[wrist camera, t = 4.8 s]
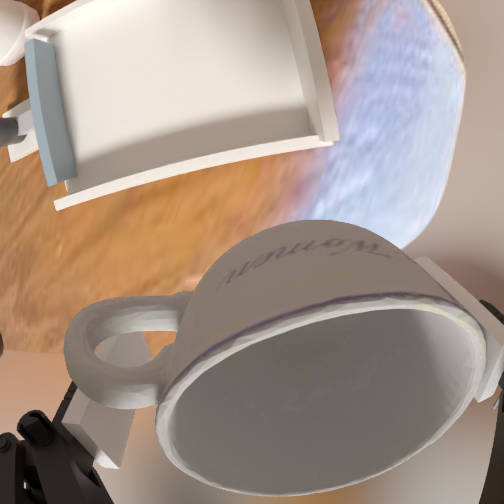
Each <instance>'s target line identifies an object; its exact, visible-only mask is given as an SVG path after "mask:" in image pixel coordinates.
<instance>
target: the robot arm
mask: <svg viewBox="0 0 504 504" xmlns="http://www.w3.org/2000/svg"><path fill="white" fill-rule="evenodd" d="M413 261H414V262H415V263H416V264H417V265H418V266H419V267H421V268H422V269H423V270H424V271H425V272H426V273H427V274H428V275H429V276H430V277H431V278H432V279H433V280H434V281H435V282H436V283H437V284H438V285H439V286H440V287H441V288H442V289H443V291H444V292H445V293H446V294H447V295H448V296H449V297H450V298H451V300H452V301H454V302H456V303H457V304H459V305H461V306H462V307H463V308H465V309H466V310H467V311H468V312H469V313H470V314H471V315H472V316H473V317H474V318H475V320H476V321H477V322H478V324H479V325H480V326H481V328H482V331H483V334H484V337H485V340H486V345H487V360H486V368H485V371H484V375H483V378H482V380H481V382H480V385H479V387H478V389H477V392H476V394H475V396H474V397H475V399H476V400H477V402H478V403H479V402H481V401H483V400H484V399H487V398H488V397H490V396H492V395H493V393H494V392H495V390H496V387H497V385H498V384H499V386H500V387H501V388H502V391H501V393H500V395H499V397H498V399H497V401H496V403H495V404H494V407H493V409H496V407H497V405H498V404H499V407H498V415H497V423H496V430H495V436H494V442H493V448H492V453H491V458H490V463H489V467H488V472H487V476H486V480H485V483H484V488H483V491H482V494H481V498H480V501H479V504H504V315H503V314H502V313H500V312H499V311H498V310H497V309H496V308H495V307H494V306H493V305H491V304H490V303H488V302H486V301H484V300H480V301H478V300H476V299H475V298H474V297H473V296H472V295H471V294H470V293H469V292H468V291H466V290H465V289H464V288H463V287H462V286H461V285H459V284H458V283H457V282H456V281H455V280H454V279H453V278H452V277H450V276H449V275H448V274H447V273H446V272H444V271H443V270H442V269H441V268H439V266H437V265H436V264H435V263H434V262H432V261H431V260H430V259H429V258H428V257H426V256H425V257H420V258H416V259H413ZM2 354H3V343H2V339H1V335H0V357H1V356H2ZM95 355H96V356H97V357H98V358H99V359H101V360H102V361H104V362H106V363H107V364H110V365H114V366H118V367H122V368H132V367H138V366H141V365H144V364H146V363H148V362H150V361H151V358H152V353H151V351H150V349H149V347H148V345H147V342H146V340H145V338H144V336H143V333H142V331H138V332H130V333H124V334H120V335H116V336H112V337H109V338H107V339H105V340H103V341H101V343H100V345H99V347H98V349H97V350H96V352H95ZM67 391H68V392H67V393H66V394H65V396H64V400H62V402H61V404H60V406H59V408H58V410H57V413H56V415H55V417H54V419H53V421H52V422H51V421H50V420H49V419H48V418H47V416H46V415H45V414H44V413H43V412H42V411H40V410H33V411H29V412H28V413H26V414H25V415H23V416H22V418H21V419H20V420H19V422H18V425H17V431H18V432H19V433H20V435H21V436H22V437H23V438H24V439H25V440H21V441H19V440H18V439H17V438H16V437H15V435H13V434H12V433H10V432H8V433H3V434H1V435H0V504H114V503H113V501H112V499H111V498H110V496H109V494H108V492H107V490H106V488H105V486H104V485H103V483H102V481H101V479H100V477H99V475H98V473H97V471H96V470H95V469H94V467H93V466H92V465H93V461H94V459H95V460H96V461H97V462H98V463H99V464H100V465H101V466H102V467H107V468H116V469H120V466H121V462H122V458H123V455H124V451H125V447H126V443H127V439H128V435H129V431H130V428H131V425H132V421H133V417H134V414H135V410H136V409H117V408H112V407H107V406H104V405H102V404H100V403H97V402H95V401H93V400H91V399H90V398H88V397H87V396H86V395H85V394H83V393H82V392H81V391H80V390H79V389H78V387H77V386H76V384H75V383H74V382H73V381H72V382H71V384H70V386H69V388H68V390H67ZM24 482H25V483H26V489H25V488H24Z"/></svg>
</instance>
